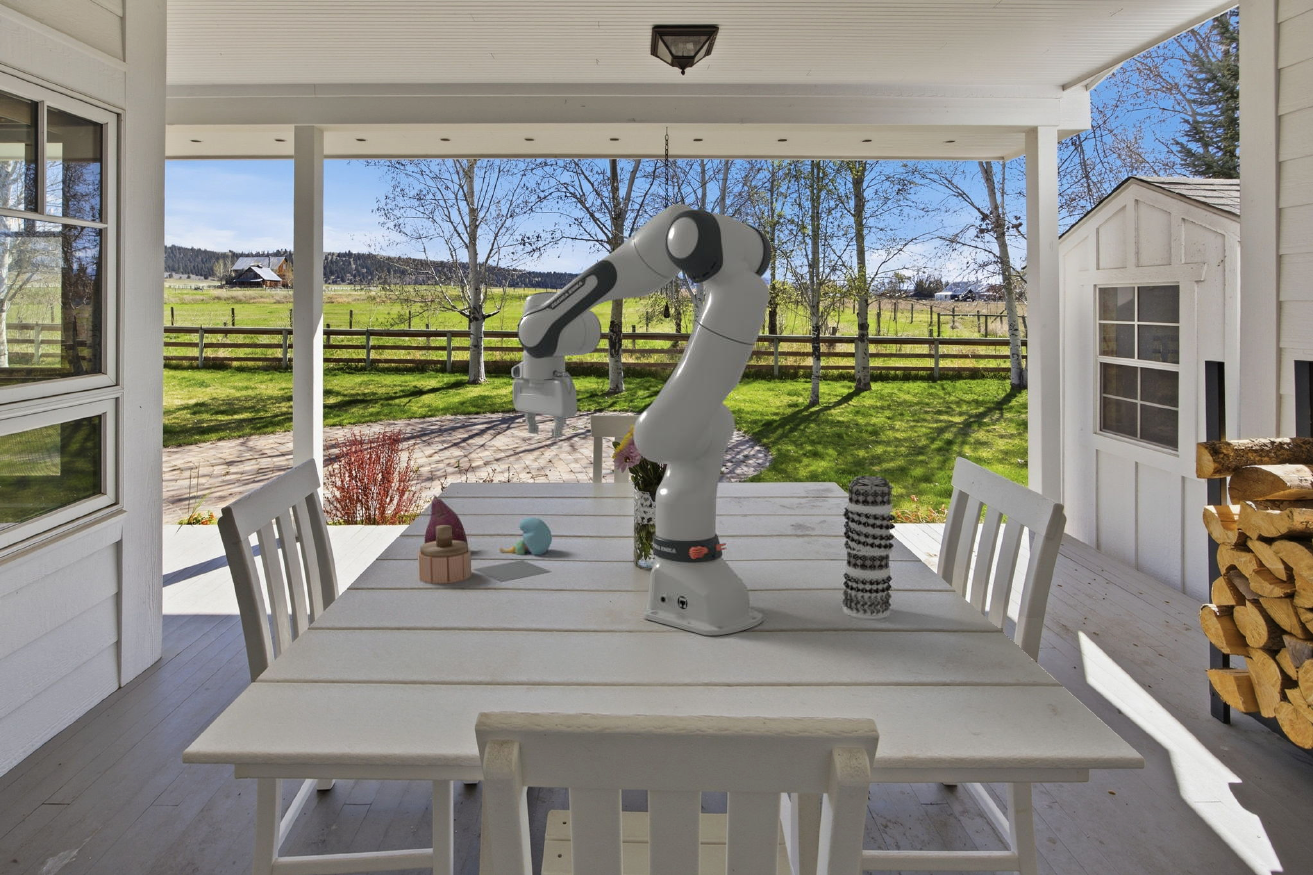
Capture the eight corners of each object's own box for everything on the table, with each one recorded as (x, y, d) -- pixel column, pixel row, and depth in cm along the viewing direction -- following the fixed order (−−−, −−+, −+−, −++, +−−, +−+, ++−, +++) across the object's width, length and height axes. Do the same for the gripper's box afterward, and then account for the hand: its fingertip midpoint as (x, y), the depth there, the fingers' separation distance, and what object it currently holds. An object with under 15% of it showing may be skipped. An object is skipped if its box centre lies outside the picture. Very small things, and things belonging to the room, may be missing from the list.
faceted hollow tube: (480, 580, 184) (479, 552, 183) (431, 590, 177) (430, 560, 176) (457, 569, 192) (456, 542, 191) (409, 578, 185) (408, 550, 184)
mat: (551, 575, 188) (551, 571, 188) (501, 585, 180) (501, 581, 180) (522, 563, 197) (522, 560, 197) (473, 572, 190) (473, 569, 190)
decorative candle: (831, 613, 163) (835, 478, 160) (854, 601, 170) (858, 472, 167) (878, 623, 158) (883, 484, 154) (900, 610, 165) (904, 477, 162)
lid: (476, 552, 183) (475, 527, 182) (432, 559, 177) (432, 534, 176) (455, 543, 190) (454, 519, 190) (412, 550, 184) (411, 525, 184)
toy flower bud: (499, 517, 207) (550, 513, 207) (503, 554, 208) (554, 550, 208) (494, 524, 200) (547, 520, 200) (498, 562, 201) (551, 558, 201)
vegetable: (417, 569, 205) (397, 507, 203) (448, 553, 213) (428, 494, 212) (451, 564, 199) (430, 500, 198) (480, 548, 208) (460, 487, 206)
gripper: (584, 371, 182) (584, 439, 183) (532, 368, 198) (533, 430, 199) (558, 372, 178) (558, 441, 180) (507, 368, 194) (508, 432, 195)
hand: (544, 435), depth 190 cm, fingers open, 8 cm apart
